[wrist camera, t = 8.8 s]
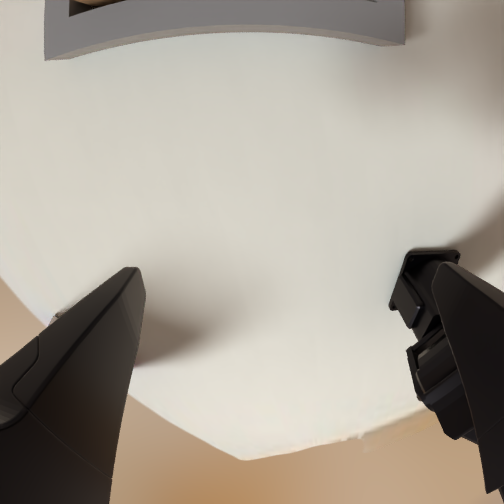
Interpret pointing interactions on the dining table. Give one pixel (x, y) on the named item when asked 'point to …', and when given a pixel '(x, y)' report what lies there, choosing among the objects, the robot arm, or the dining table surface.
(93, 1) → the walnut plug
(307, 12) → the socket board
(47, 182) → the dining table surface
